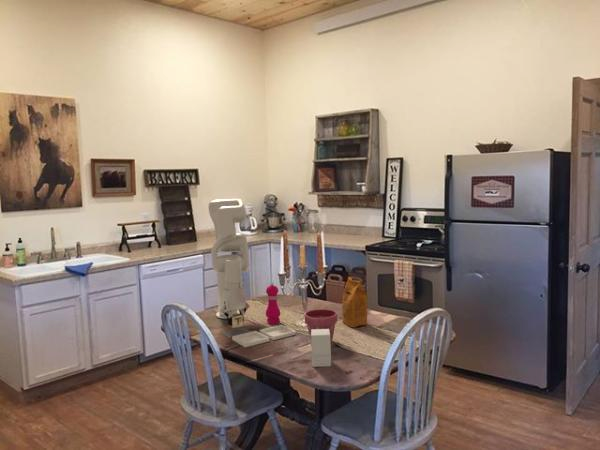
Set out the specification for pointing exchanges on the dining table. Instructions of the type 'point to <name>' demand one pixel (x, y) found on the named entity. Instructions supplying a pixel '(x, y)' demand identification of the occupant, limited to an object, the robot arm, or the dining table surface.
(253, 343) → the tray
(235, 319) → the letter cube
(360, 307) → the coffee package
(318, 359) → the supplement box
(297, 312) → the dining table surface
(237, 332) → the pad
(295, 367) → the dining table surface
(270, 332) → the tray
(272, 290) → the pepper mill
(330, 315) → the plant pot
